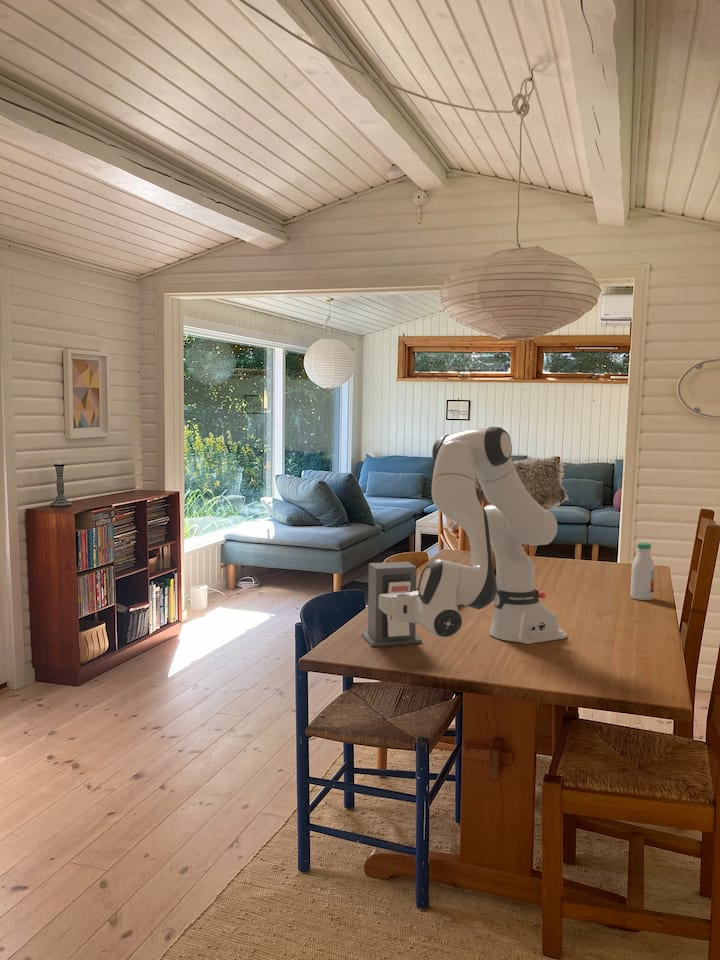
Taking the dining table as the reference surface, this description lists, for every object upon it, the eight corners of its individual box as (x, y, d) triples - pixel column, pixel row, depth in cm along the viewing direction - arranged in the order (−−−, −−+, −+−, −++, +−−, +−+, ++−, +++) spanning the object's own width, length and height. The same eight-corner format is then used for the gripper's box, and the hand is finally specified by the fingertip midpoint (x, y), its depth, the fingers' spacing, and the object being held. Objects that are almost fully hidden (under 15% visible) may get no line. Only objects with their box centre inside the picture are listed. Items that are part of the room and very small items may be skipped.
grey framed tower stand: (409, 632, 234) (411, 560, 232) (421, 643, 223) (423, 567, 221) (361, 635, 230) (362, 562, 228) (371, 646, 219) (372, 570, 217)
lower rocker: (409, 635, 221) (407, 610, 222) (410, 635, 219) (409, 610, 220) (387, 636, 219) (386, 611, 220) (389, 636, 218) (387, 611, 219)
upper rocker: (407, 603, 222) (410, 581, 219) (409, 605, 220) (411, 583, 218) (386, 604, 220) (388, 582, 218) (387, 606, 219) (389, 584, 216)
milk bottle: (645, 601, 274) (648, 546, 273) (626, 597, 280) (628, 542, 279) (657, 598, 279) (659, 543, 277) (637, 594, 285) (640, 540, 283)
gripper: (463, 592, 200) (444, 580, 214) (387, 596, 195) (372, 584, 208) (463, 616, 201) (443, 603, 214) (387, 621, 196) (372, 607, 209)
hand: (408, 594), depth 211 cm, fingers closed
